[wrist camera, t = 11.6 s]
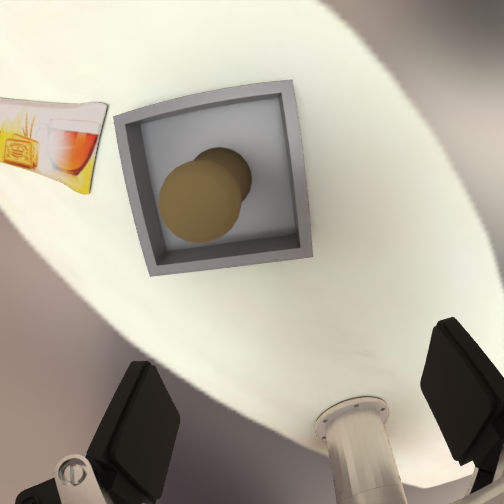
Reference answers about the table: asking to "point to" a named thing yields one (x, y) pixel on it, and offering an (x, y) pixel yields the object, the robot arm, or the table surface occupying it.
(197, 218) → the cork
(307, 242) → the tote
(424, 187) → the table surface
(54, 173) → the food package
